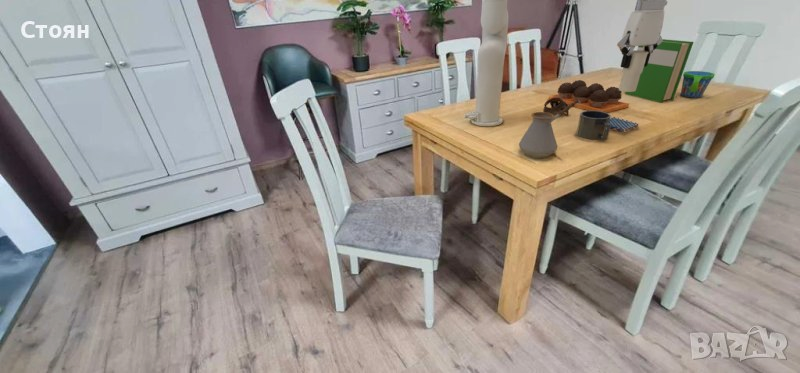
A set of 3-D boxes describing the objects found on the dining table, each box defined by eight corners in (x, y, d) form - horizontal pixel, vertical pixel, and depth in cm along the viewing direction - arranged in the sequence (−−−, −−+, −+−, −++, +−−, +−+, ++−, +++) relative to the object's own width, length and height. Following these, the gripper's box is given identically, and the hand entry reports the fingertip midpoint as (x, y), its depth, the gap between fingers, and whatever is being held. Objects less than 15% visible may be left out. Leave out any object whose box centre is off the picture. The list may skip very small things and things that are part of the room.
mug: (570, 133, 121) (575, 112, 117) (593, 131, 122) (598, 109, 118) (592, 146, 111) (598, 123, 107) (617, 143, 111) (623, 120, 108)
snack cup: (680, 90, 160) (687, 68, 155) (708, 94, 153) (717, 71, 148) (672, 98, 151) (680, 74, 146) (702, 101, 144) (711, 77, 139)
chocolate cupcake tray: (628, 107, 143) (633, 87, 139) (601, 114, 137) (606, 93, 133) (573, 94, 165) (576, 76, 161) (548, 99, 159) (551, 81, 155)
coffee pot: (536, 164, 101) (544, 116, 94) (510, 151, 110) (515, 107, 103) (585, 148, 109) (596, 103, 102) (556, 138, 118) (564, 95, 111)
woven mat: (594, 127, 125) (595, 121, 124) (611, 121, 130) (612, 116, 129) (621, 135, 117) (623, 129, 116) (639, 128, 122) (641, 123, 121)
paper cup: (625, 92, 113) (636, 53, 107) (612, 88, 119) (622, 51, 112) (641, 91, 114) (653, 52, 108) (628, 87, 119) (638, 49, 113)
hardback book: (673, 100, 148) (693, 41, 136) (660, 102, 146) (680, 43, 134) (636, 91, 163) (652, 38, 151) (624, 93, 161) (640, 39, 149)
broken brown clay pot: (573, 118, 136) (568, 103, 131) (549, 128, 139) (544, 113, 135) (564, 103, 144) (560, 88, 139) (542, 112, 148) (537, 98, 143)
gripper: (664, 4, 108) (647, 62, 117) (615, 7, 106) (602, 67, 115) (685, 4, 101) (665, 66, 110) (633, 8, 100) (617, 71, 108)
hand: (633, 66), depth 112 cm, fingers closed on paper cup, 5 cm apart
